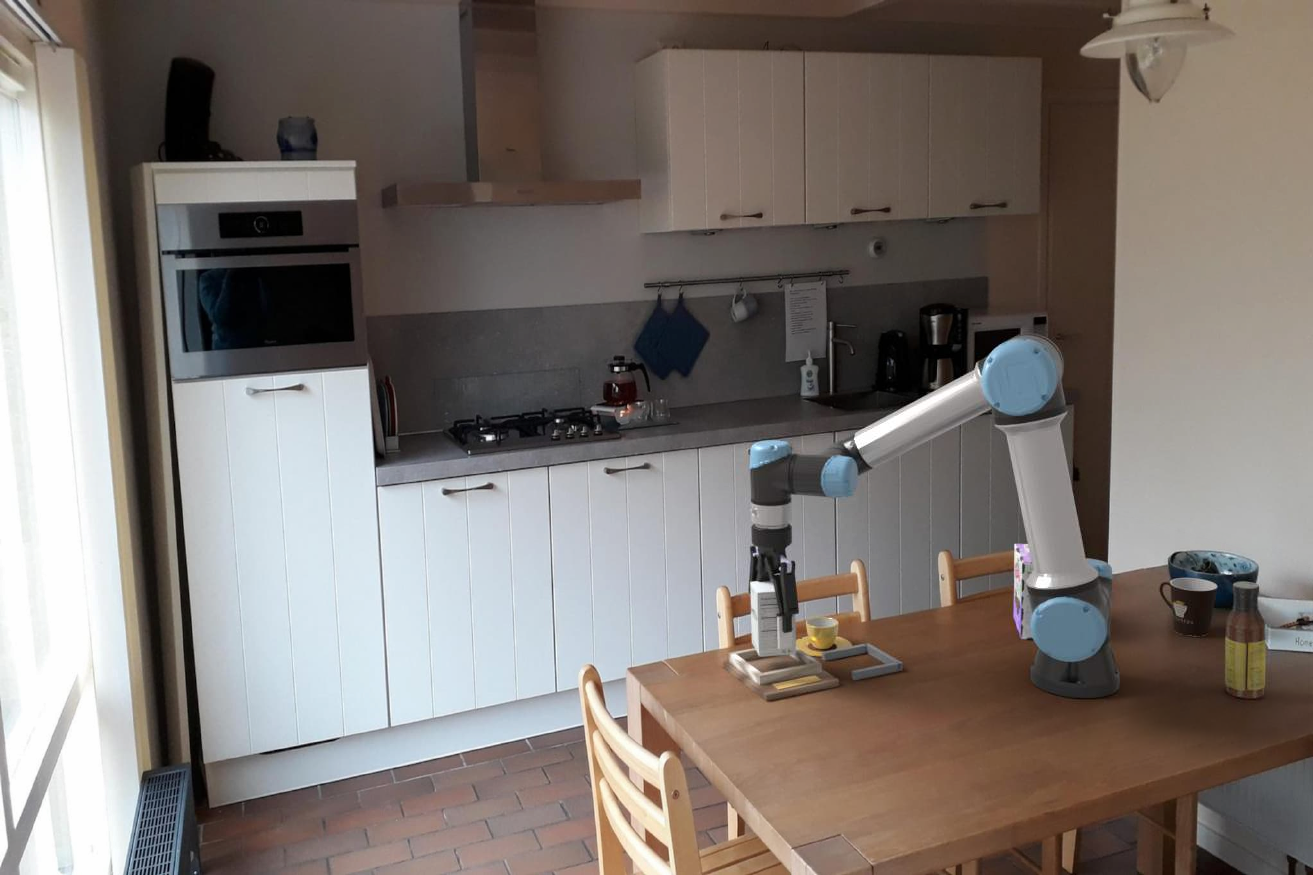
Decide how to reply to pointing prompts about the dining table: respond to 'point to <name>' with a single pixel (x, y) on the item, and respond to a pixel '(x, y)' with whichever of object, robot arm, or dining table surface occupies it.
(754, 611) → the supplement box
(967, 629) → the dining table surface
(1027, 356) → the robot arm
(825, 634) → the cup
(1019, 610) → the candy box
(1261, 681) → the sauce bottle
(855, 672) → the bracket
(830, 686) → the board
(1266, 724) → the dining table surface
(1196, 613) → the coffee mug
